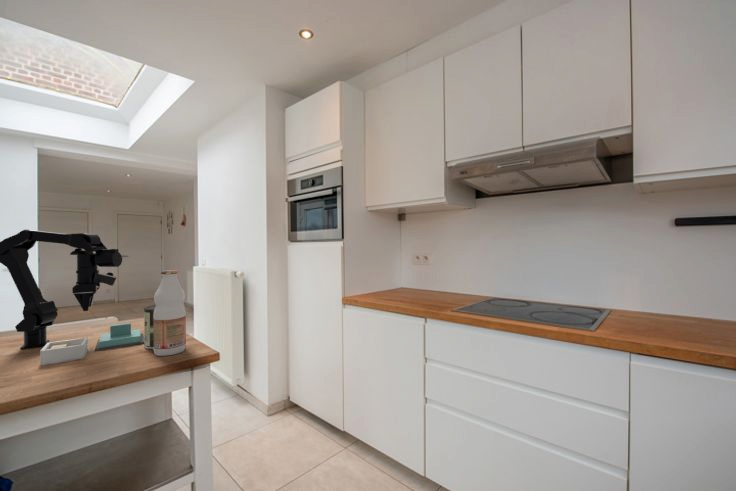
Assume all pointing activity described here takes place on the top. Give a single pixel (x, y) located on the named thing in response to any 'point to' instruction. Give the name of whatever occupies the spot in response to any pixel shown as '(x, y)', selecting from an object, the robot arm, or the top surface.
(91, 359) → the top surface
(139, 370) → the top surface
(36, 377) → the top surface
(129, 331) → the lid
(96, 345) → the mat
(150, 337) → the coffee can
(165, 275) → the fruit juice
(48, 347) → the box
